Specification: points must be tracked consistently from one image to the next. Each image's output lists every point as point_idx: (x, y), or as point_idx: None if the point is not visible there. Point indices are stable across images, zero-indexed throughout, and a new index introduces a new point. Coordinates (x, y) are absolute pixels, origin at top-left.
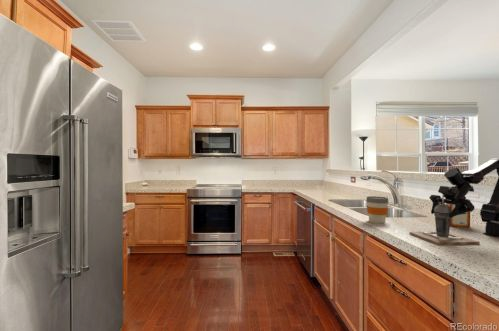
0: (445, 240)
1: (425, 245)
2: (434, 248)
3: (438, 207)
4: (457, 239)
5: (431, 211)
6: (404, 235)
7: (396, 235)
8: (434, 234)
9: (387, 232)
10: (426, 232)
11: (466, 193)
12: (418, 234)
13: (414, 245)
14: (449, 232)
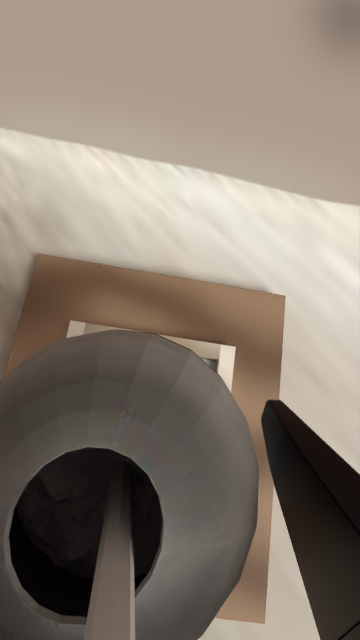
0: (56, 342)
1: (66, 195)
2: (11, 195)
3: (103, 343)
4: None
5: (282, 407)
6: (257, 247)
7: (264, 203)
8: None
9: (329, 204)
10: (217, 359)
11: None
12: (216, 296)
13: (83, 145)
14: (222, 613)
